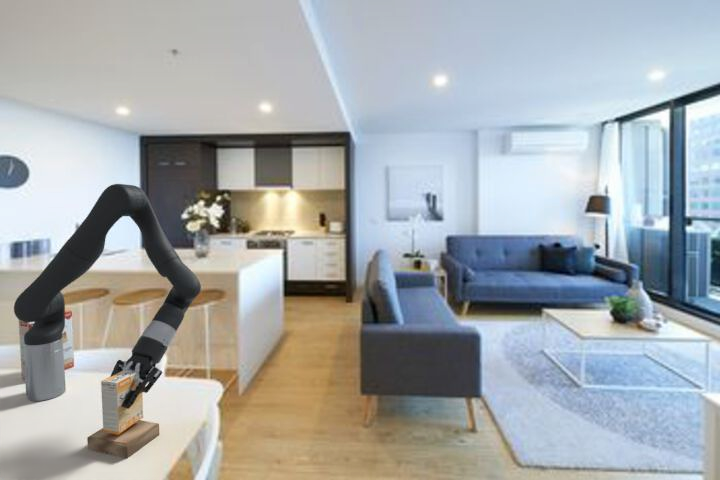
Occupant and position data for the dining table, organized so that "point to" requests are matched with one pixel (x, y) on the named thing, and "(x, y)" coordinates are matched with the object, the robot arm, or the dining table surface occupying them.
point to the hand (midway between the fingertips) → (116, 404)
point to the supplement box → (119, 403)
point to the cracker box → (66, 336)
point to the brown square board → (124, 439)
